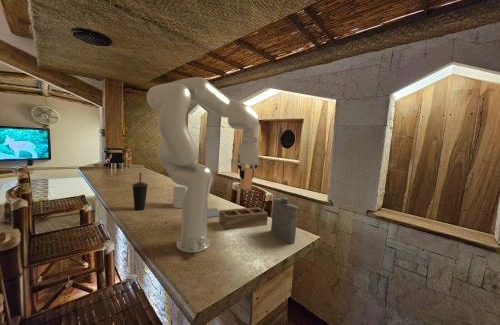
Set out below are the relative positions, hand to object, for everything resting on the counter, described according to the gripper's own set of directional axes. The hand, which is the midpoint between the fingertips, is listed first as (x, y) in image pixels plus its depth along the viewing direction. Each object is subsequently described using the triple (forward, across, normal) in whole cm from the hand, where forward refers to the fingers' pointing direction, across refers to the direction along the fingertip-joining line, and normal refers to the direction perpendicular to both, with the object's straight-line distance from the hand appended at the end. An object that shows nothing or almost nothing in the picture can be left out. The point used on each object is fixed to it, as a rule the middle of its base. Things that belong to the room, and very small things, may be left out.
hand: (246, 177), depth 108 cm
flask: (+23, -10, +19) cm, 32 cm away
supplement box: (+23, +24, -34) cm, 48 cm away
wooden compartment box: (+23, 0, 0) cm, 23 cm away
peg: (+5, 0, 0) cm, 5 cm away
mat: (+23, +12, -18) cm, 32 cm away
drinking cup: (+24, +46, -34) cm, 62 cm away
